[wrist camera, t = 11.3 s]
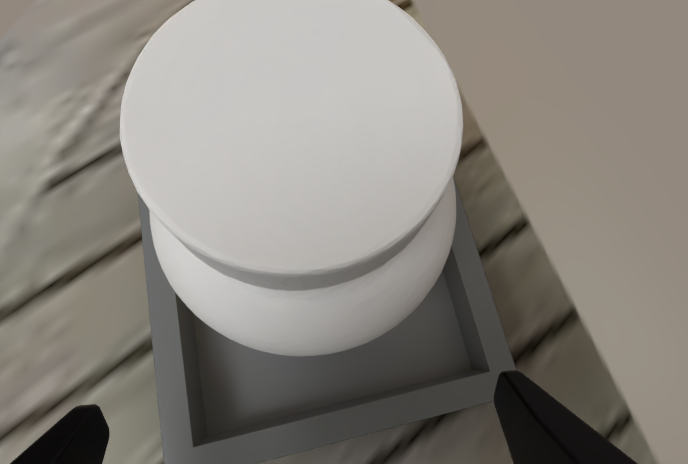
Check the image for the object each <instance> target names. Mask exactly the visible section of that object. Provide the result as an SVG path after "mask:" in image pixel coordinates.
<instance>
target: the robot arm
mask: <svg viewBox="0 0 688 464" xmlns="http://www.w3.org/2000/svg"><path fill="white" fill-rule="evenodd" d="M494 404H495V408H496V411H497V414H498V417H499V420H500V423H501V426H502V429H503V432H504V435H505V438H506V441H507V444H508V447H509V450H510V453H511V457H512V460H513V463H514V464H637V463H636V462H635V461H634V460H632V459H631V458H630V457H628V456H627V455H626V454H625V453H623V452H622V451H621V450H620V449H618V448H617V447H616V446H614V445H613V444H612V443H611V442H609V441H608V440H607V439H605V438H604V437H603V436H602V435H600V434H599V433H598V432H597V431H595V430H594V429H593V428H591V427H590V426H589V425H588V424H586V423H585V422H584V421H582V420H581V419H580V418H579V417H577V416H576V415H575V414H574V413H572V412H571V411H570V410H568V409H567V408H566V407H565V406H563V405H562V404H561V403H559V402H558V401H557V400H556V399H554V398H553V397H552V396H551V395H549V394H548V393H547V392H545V391H544V390H543V389H542V388H540V387H539V386H538V385H536V384H535V383H534V382H533V381H531V380H530V379H529V378H528V377H526V376H525V375H524V374H522V373H521V372H519V371H517V370H512V371H502V372H501V373H500V374H499V376H498V380H497V384H496V388H495V392H494ZM108 440H109V427H108V425H107V423H106V420H105V418H104V416H103V414H102V411H101V409H100V407H99V406H97V405H95V404H92V405H80V406H77V407H75V408H73V409H72V410H71V411H70V412H68V413H67V414H66V415H65V416H64V417H63V418H62V419H60V420H59V421H58V422H57V423H56V424H55V425H54V426H52V427H51V428H50V429H49V430H48V431H47V432H46V433H44V434H43V435H42V436H41V437H40V438H39V439H38V440H36V441H35V442H34V443H33V444H32V445H31V446H30V447H28V448H27V449H26V450H25V451H24V452H23V453H22V454H20V455H19V456H18V457H17V458H16V459H15V460H14V461H12V462H11V463H10V464H102V462H103V458H104V455H105V451H106V447H107V444H108Z"/></svg>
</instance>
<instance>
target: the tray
mask: <svg viewBox="0 0 688 464" xmlns="http://www.w3.org/2000/svg"><path fill="white" fill-rule="evenodd" d="M453 180H454V185H455V193H456V225H455V231H454V236H453V241H452V245H451V249H450V252H449V255H448V258H447V260H446V262H445V265H444V267H443V270H442V272H441V274H440V275H439V277H438V279H437V281H436V282H435V284H434V286H433V287H432V289H431V290H430V291H429V293H428V294H427V295H426V297H425V298H424V300H423V301H422V302H421V303H420V304H419V305H418V307H417V308H416V309H415V310H414V311H413V312H412V313H411V314H410V315H409V316H407V317H406V318H405V319H404V320H403V321H401V322H400V323H399V324H398V325H397V326H395V327H394V328H393V329H391V330H389V331H388V332H386V333H385V334H383V335H381V336H380V337H378V338H376V339H374V340H372V341H370V342H368V343H366V344H363V345H360V346H357V347H354V348H351V349H348V350H345V351H341V352H337V353H332V354H325V355H317V356H286V355H277V354H272V353H268V352H264V351H259V350H256V349H253V348H250V347H247V346H244V345H242V344H239V343H237V342H235V341H233V340H231V339H229V338H227V337H225V336H224V335H222V334H220V333H218V332H217V331H215V330H214V329H213V328H211V327H210V326H208V325H207V324H206V323H205V322H203V321H202V320H201V319H200V318H198V317H197V316H196V315H195V314H194V313H193V312H192V311H191V310H190V309H189V308H188V307H187V306H186V304H185V303H184V302H183V301H182V300H181V299H180V297H179V296H178V295H177V294H176V292H175V291H174V289H173V288H172V286H171V285H170V283H169V281H168V279H167V277H166V275H165V273H164V272H163V270H162V267H161V265H160V262H159V260H158V257H157V254H156V251H155V247H154V243H153V238H152V232H151V226H150V213H149V208H148V207H147V205H146V204H145V203H144V201H143V200H142V198H141V197H140V195H139V194H138V199H139V209H140V220H141V230H142V241H143V251H144V261H145V272H146V282H147V292H148V303H149V313H150V323H151V334H152V344H153V355H154V365H155V375H156V386H157V396H158V406H159V417H160V427H161V437H162V448H163V458H164V464H257V463H261V462H265V461H268V460H272V459H276V458H280V457H283V456H287V455H291V454H295V453H299V452H302V451H306V450H310V449H314V448H317V447H321V446H325V445H329V444H333V443H336V442H340V441H344V440H348V439H351V438H355V437H359V436H363V435H366V434H370V433H374V432H378V431H382V430H385V429H389V428H393V427H397V426H400V425H404V424H408V423H412V422H416V421H419V420H423V419H427V418H431V417H434V416H438V415H442V414H446V413H450V412H453V411H457V410H461V409H465V408H468V407H472V406H476V405H480V404H484V403H487V402H491V401H494V392H495V388H496V384H497V380H498V376H499V374H500V373H501V372H502V371H512V370H516V367H515V364H514V361H513V358H512V355H511V352H510V349H509V346H508V343H507V340H506V336H505V333H504V330H503V327H502V324H501V321H500V318H499V315H498V312H497V309H496V306H495V303H494V299H493V296H492V293H491V290H490V287H489V284H488V281H487V278H486V275H485V272H484V269H483V266H482V263H481V259H480V256H479V253H478V250H477V247H476V244H475V241H474V238H473V235H472V232H471V229H470V226H469V223H468V219H467V216H466V213H465V210H464V207H463V204H462V201H461V198H460V195H459V192H458V189H457V186H456V183H455V179H454V176H453Z"/></svg>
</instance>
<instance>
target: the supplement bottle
mask: <svg viewBox="0 0 688 464" xmlns="http://www.w3.org/2000/svg"><path fill="white" fill-rule="evenodd" d="M462 137H463V114H462V102H461V98H460V94H459V89H458V85H457V83H456V80H455V77H454V75H453V72H452V70H451V68H450V66H449V64H448V62H447V60H446V58H445V57H444V55H443V53H442V52H441V50H440V49H439V47H438V46H437V45H436V43H435V42H434V41H433V39H432V38H431V37H430V36H429V35H428V34H427V32H426V31H425V30H424V29H423V28H422V27H421V26H420V25H419V24H418V23H417V22H416V21H415V20H414V19H413V18H412V17H411V16H410V15H408V14H407V13H406V12H405V11H403V10H402V9H401V8H399V7H398V6H396V5H395V4H393V3H392V2H390V1H389V0H195V1H193V2H192V3H190V4H189V5H187V6H186V7H184V8H183V9H182V10H180V11H179V12H178V13H176V14H175V15H174V16H172V17H171V18H170V19H168V20H167V21H166V22H165V23H164V24H163V25H162V26H161V27H160V28H159V29H158V30H157V31H156V32H155V33H154V34H153V36H152V37H151V39H150V40H149V42H148V43H147V44H146V46H145V47H144V49H143V50H142V52H141V54H140V55H139V57H138V58H137V60H136V62H135V64H134V66H133V68H132V71H131V73H130V76H129V78H128V80H127V83H126V86H125V90H124V95H123V99H122V104H121V116H120V140H121V145H122V151H123V155H124V159H125V162H126V165H127V169H128V172H129V174H130V177H131V179H132V181H133V183H134V185H135V187H136V190H137V192H138V194H139V195H140V197H141V198H142V200H143V201H144V203H145V204H146V205H147V207H148V208H149V213H150V226H151V232H152V238H153V243H154V247H155V251H156V254H157V257H158V260H159V262H160V265H161V267H162V270H163V272H164V273H165V275H166V277H167V279H168V281H169V283H170V285H171V286H172V288H173V289H174V291H175V292H176V294H177V295H178V296H179V297H180V299H181V300H182V301H183V302H184V303H185V304H186V306H187V307H188V308H189V309H190V310H191V311H192V312H193V313H194V314H195V315H196V316H197V317H198V318H200V319H201V320H202V321H203V322H205V323H206V324H207V325H208V326H210V327H211V328H213V329H214V330H215V331H217V332H218V333H220V334H222V335H224V336H225V337H227V338H229V339H231V340H233V341H235V342H237V343H239V344H242V345H244V346H247V347H250V348H253V349H256V350H259V351H264V352H268V353H272V354H277V355H286V356H317V355H325V354H332V353H337V352H341V351H345V350H348V349H351V348H354V347H357V346H360V345H363V344H366V343H368V342H370V341H372V340H374V339H376V338H378V337H380V336H381V335H383V334H385V333H386V332H388V331H389V330H391V329H393V328H394V327H395V326H397V325H398V324H399V323H400V322H401V321H403V320H404V319H405V318H406V317H407V316H409V315H410V314H411V313H412V312H413V311H414V310H415V309H416V308H417V307H418V305H419V304H420V303H421V302H422V301H423V300H424V298H425V297H426V295H427V294H428V293H429V291H430V290H431V289H432V287H433V286H434V284H435V282H436V281H437V279H438V277H439V275H440V274H441V272H442V270H443V267H444V265H445V262H446V260H447V258H448V255H449V252H450V249H451V245H452V241H453V236H454V231H455V225H456V193H455V185H454V180H453V175H454V172H455V169H456V166H457V163H458V160H459V155H460V151H461V146H462Z"/></svg>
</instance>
